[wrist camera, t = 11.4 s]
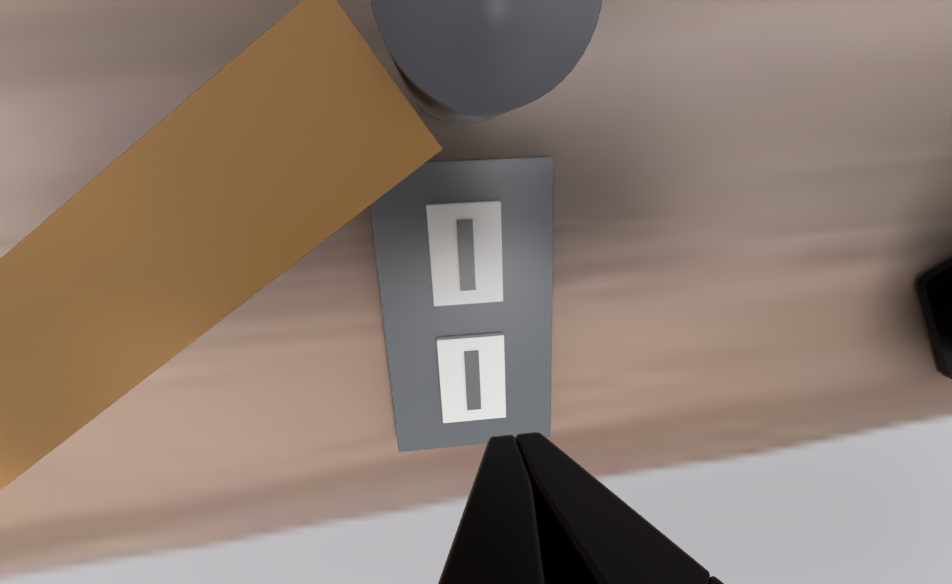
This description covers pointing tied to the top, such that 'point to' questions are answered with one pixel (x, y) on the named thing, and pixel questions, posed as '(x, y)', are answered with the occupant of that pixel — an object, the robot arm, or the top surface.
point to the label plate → (468, 299)
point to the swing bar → (248, 191)
